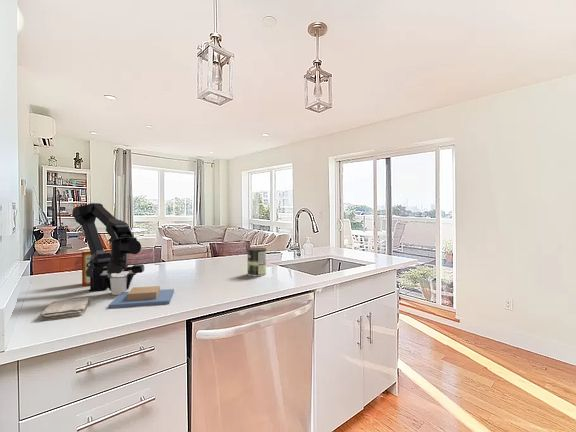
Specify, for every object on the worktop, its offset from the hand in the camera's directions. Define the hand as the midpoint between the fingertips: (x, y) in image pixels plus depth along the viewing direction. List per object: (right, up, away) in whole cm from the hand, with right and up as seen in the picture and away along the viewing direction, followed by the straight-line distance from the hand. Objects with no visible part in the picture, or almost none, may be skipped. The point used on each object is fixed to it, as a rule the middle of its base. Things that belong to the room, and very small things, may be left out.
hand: (119, 290), depth 129 cm
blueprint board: (+15, -1, -9) cm, 18 cm away
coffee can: (+54, -1, +38) cm, 66 cm away
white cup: (0, -1, 0) cm, 1 cm away
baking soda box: (-21, -1, +17) cm, 27 cm away
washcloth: (-5, -2, -23) cm, 24 cm away
